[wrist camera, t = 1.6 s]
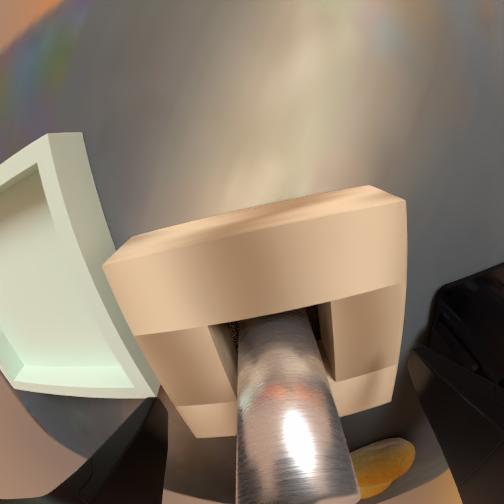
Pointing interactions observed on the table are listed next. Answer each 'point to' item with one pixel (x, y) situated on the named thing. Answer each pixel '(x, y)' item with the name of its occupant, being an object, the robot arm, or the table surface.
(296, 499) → the pin
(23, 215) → the parts tray
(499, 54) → the table surface
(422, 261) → the table surface
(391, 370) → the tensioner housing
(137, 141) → the table surface
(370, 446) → the bread roll
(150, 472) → the robot arm
